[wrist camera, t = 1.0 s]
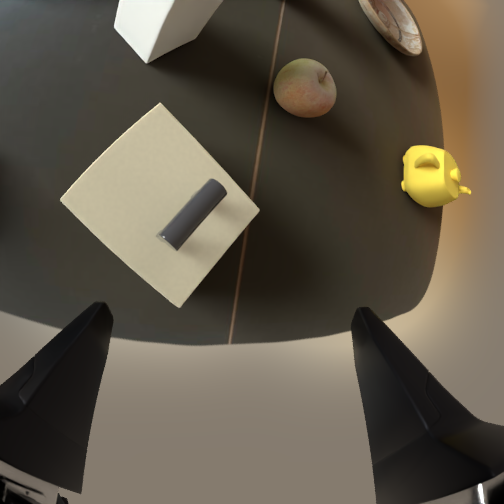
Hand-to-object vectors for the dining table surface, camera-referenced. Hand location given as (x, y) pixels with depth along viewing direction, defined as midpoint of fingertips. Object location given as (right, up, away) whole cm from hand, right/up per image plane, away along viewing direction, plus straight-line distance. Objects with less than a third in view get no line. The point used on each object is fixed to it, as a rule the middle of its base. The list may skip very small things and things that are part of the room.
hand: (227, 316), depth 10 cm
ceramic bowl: (+30, +56, +34) cm, 72 cm away
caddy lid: (-6, +6, +12) cm, 14 cm away
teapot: (+32, +16, +39) cm, 53 cm away
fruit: (+5, +22, +23) cm, 33 cm away
